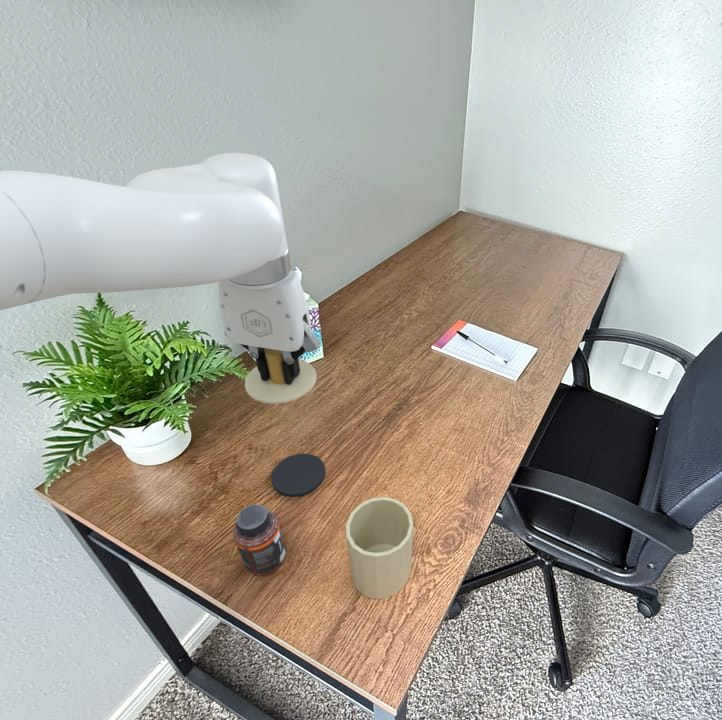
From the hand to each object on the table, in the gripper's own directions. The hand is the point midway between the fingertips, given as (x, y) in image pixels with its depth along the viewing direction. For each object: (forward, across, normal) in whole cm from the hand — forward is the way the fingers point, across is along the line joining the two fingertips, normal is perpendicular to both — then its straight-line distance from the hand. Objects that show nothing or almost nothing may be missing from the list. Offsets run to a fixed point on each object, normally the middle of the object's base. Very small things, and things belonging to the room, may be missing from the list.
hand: (280, 375), depth 68 cm
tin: (+24, +18, -14) cm, 34 cm away
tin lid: (+1, 0, 0) cm, 1 cm away
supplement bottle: (+24, +1, -15) cm, 29 cm away
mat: (+24, -1, 0) cm, 24 cm away
